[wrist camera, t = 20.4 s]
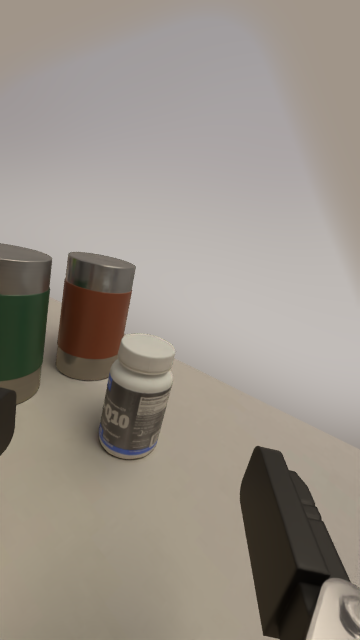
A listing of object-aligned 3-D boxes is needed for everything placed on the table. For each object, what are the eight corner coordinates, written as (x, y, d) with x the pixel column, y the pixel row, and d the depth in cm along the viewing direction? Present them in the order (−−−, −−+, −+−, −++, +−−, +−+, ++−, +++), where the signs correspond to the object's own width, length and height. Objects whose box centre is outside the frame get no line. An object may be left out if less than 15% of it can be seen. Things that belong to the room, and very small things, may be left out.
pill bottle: (88, 427, 23) (103, 332, 21) (137, 413, 26) (156, 329, 24) (114, 470, 20) (137, 363, 17) (168, 449, 23) (193, 355, 20)
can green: (53, 376, 29) (66, 257, 25) (12, 417, 22) (23, 265, 19) (-14, 361, 28) (-9, 239, 25) (-74, 398, 22) (-79, 241, 19)
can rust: (123, 359, 36) (141, 264, 32) (108, 386, 29) (128, 271, 26) (70, 347, 35) (82, 250, 32) (43, 372, 29) (55, 254, 26)
